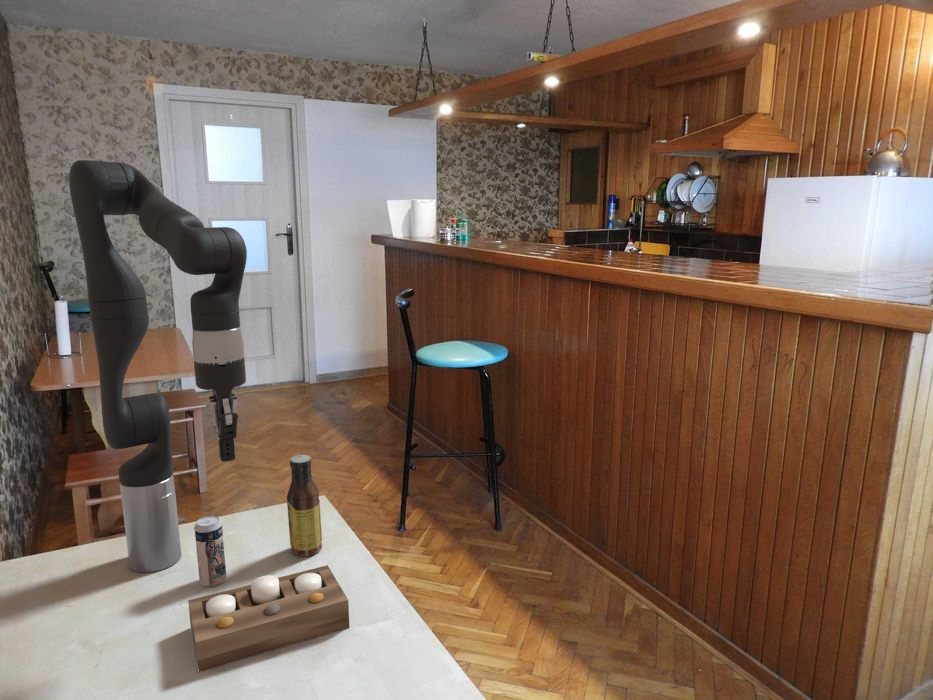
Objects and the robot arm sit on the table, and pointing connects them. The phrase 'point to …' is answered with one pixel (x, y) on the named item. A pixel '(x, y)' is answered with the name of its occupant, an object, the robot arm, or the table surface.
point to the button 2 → (265, 590)
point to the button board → (267, 620)
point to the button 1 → (220, 605)
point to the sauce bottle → (303, 509)
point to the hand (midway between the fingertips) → (227, 459)
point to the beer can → (210, 551)
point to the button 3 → (307, 583)
